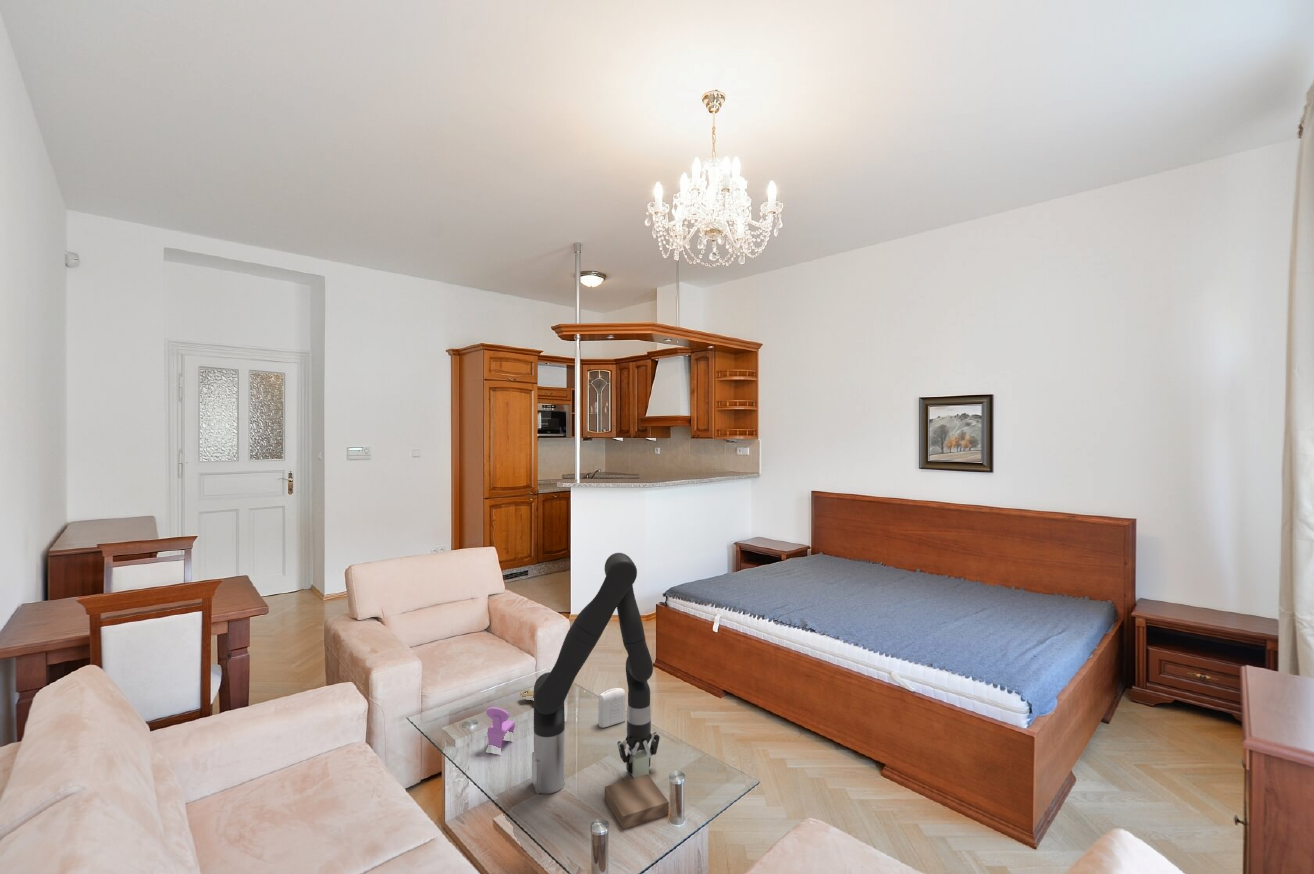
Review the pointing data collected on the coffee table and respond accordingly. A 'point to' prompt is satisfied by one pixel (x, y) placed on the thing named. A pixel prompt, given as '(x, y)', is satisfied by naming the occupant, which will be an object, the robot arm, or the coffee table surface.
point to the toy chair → (498, 726)
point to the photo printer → (611, 707)
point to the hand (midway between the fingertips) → (638, 769)
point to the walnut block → (636, 801)
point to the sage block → (640, 764)
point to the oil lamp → (529, 693)
